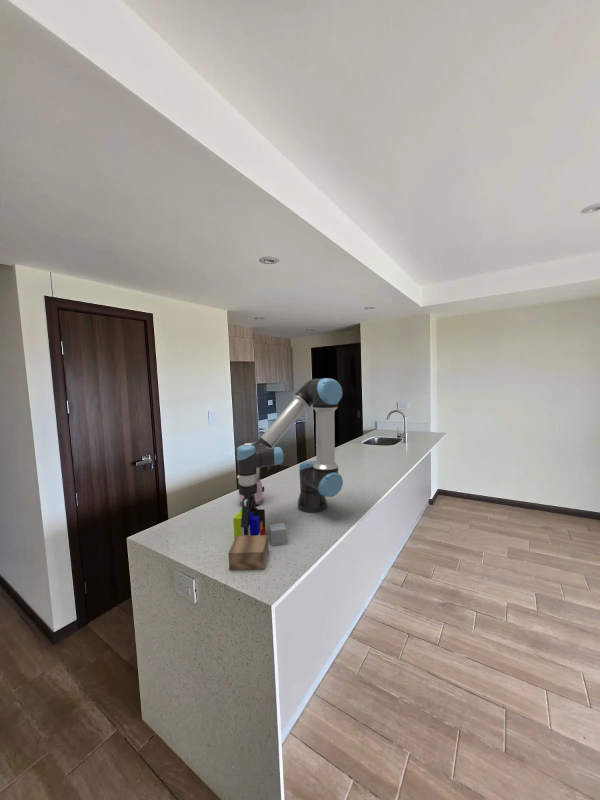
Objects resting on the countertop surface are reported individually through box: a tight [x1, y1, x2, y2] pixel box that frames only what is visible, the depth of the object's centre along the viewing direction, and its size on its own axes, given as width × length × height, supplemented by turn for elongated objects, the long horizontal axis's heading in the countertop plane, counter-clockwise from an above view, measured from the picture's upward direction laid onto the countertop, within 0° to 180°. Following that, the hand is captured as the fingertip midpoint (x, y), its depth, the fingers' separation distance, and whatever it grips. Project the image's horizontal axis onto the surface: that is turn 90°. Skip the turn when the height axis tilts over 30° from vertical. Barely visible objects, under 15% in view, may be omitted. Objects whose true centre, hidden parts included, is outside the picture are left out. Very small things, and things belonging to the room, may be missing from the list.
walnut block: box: [228, 534, 269, 571], centre depth 116 cm, size 12×12×6 cm
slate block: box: [268, 522, 288, 547], centre depth 129 cm, size 6×6×6 cm
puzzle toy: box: [232, 508, 267, 541], centre depth 133 cm, size 10×10×10 cm
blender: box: [236, 442, 265, 507], centre depth 169 cm, size 16×12×32 cm
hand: (250, 533), depth 133 cm, fingers open, 13 cm apart
